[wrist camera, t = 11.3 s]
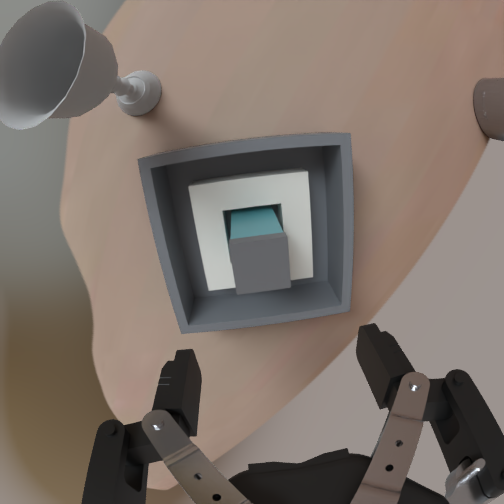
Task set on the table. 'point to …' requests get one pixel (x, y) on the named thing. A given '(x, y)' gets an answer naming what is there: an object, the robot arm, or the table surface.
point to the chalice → (64, 70)
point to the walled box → (250, 195)
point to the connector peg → (258, 250)
